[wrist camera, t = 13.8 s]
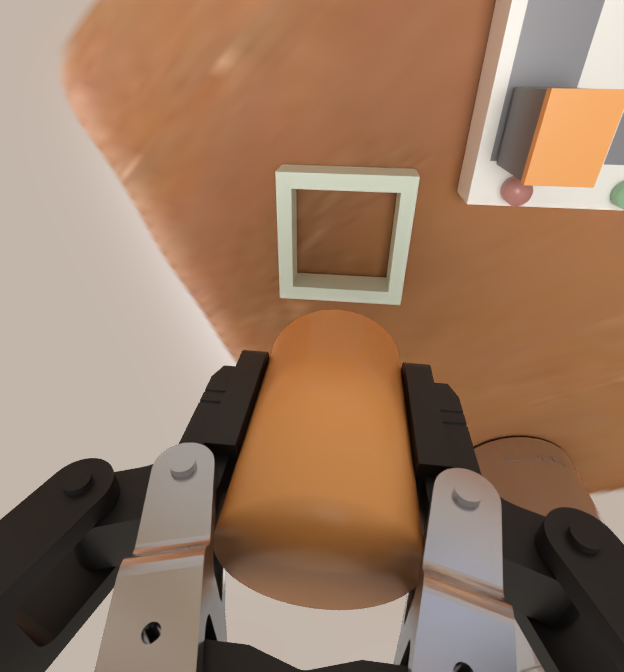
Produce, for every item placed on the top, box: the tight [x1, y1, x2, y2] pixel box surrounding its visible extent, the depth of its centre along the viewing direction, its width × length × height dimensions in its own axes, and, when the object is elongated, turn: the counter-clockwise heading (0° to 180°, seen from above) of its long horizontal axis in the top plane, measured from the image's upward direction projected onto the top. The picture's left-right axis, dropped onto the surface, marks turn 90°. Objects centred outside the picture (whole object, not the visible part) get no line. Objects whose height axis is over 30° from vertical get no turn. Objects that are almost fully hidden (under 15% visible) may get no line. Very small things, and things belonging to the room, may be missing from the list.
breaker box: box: [457, 0, 624, 210], centre depth 17 cm, size 11×9×3 cm
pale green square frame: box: [275, 164, 420, 305], centre depth 23 cm, size 7×7×2 cm
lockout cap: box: [214, 310, 423, 610], centre depth 10 cm, size 4×4×6 cm
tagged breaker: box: [497, 87, 624, 188], centre depth 16 cm, size 3×2×4 cm
